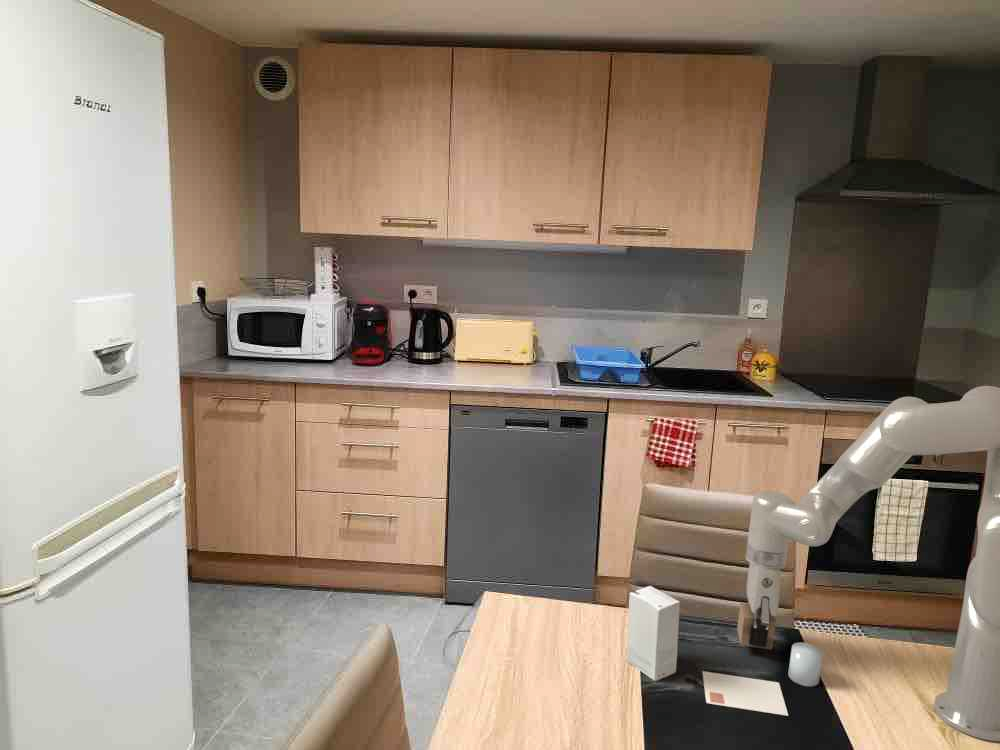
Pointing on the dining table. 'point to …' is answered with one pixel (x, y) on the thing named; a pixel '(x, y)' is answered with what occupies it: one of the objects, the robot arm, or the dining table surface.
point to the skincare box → (653, 632)
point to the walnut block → (747, 621)
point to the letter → (744, 693)
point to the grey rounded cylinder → (805, 664)
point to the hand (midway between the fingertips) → (755, 635)
